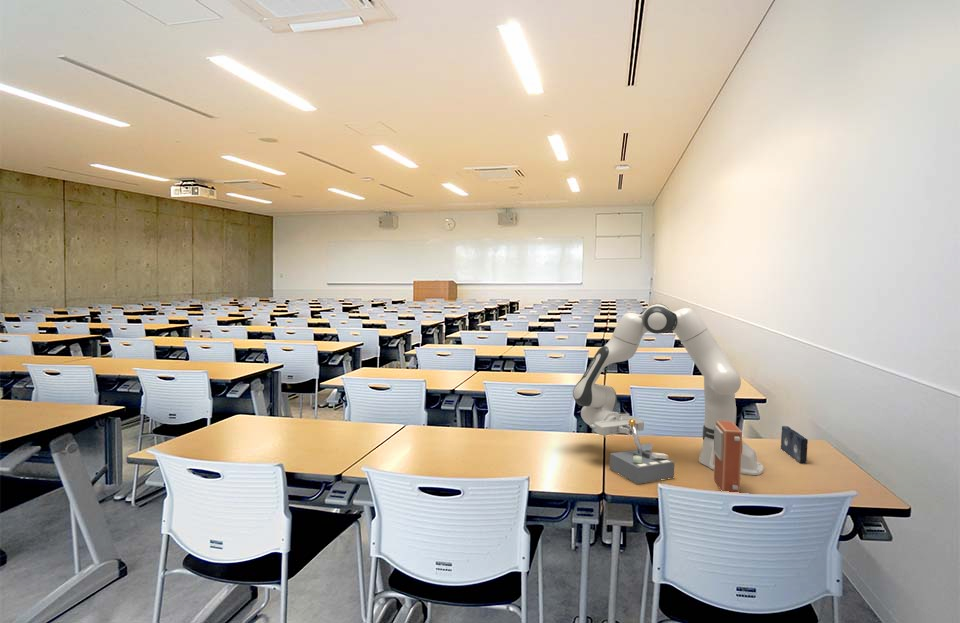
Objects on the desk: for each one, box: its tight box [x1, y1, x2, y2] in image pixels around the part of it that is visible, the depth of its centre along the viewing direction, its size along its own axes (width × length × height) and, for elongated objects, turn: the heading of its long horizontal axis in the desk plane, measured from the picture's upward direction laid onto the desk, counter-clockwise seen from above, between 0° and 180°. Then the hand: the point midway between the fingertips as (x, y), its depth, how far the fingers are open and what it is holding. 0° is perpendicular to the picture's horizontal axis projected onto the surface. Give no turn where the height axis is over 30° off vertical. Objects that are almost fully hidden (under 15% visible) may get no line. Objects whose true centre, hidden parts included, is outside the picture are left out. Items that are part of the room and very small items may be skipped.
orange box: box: [713, 421, 743, 492], centre depth 183 cm, size 21×7×15 cm
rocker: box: [652, 452, 669, 459], centre depth 193 cm, size 3×5×1 cm, turn 112°
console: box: [609, 449, 675, 485], centre depth 195 cm, size 16×16×8 cm
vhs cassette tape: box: [780, 425, 809, 465], centre depth 215 cm, size 18×3×10 cm, turn 170°
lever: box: [629, 420, 643, 454], centre depth 197 cm, size 3×3×13 cm
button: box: [633, 455, 642, 464], centre depth 189 cm, size 3×3×2 cm
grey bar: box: [641, 443, 654, 451], centre depth 201 cm, size 1×6×2 cm, turn 112°
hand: (631, 431), depth 200 cm, fingers closed
